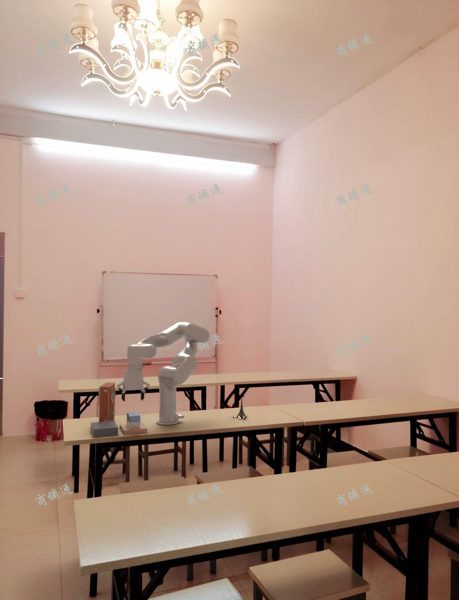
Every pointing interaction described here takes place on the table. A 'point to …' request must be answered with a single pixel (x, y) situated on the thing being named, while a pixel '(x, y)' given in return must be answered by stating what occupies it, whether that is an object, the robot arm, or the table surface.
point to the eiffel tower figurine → (241, 411)
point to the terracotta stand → (126, 429)
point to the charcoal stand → (104, 428)
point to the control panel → (107, 402)
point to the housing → (133, 420)
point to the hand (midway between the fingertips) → (132, 400)
